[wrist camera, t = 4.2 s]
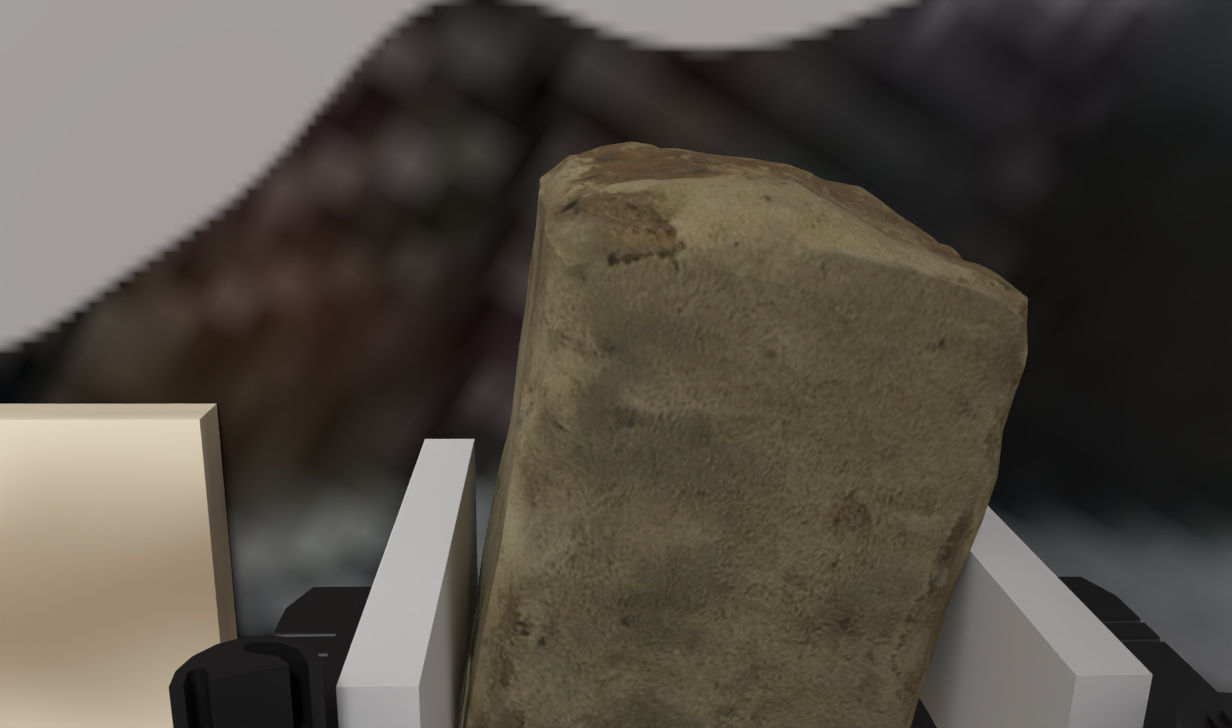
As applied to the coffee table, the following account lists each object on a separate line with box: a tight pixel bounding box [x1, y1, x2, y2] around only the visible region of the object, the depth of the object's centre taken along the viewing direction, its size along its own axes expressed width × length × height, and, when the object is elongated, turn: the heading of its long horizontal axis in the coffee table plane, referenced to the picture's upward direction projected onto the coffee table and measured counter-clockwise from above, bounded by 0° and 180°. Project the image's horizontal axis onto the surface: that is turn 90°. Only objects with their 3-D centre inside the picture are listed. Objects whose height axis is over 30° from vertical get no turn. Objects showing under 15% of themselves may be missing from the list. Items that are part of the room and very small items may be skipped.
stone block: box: [461, 142, 1028, 728], centre depth 14 cm, size 6×12×5 cm, turn 171°
